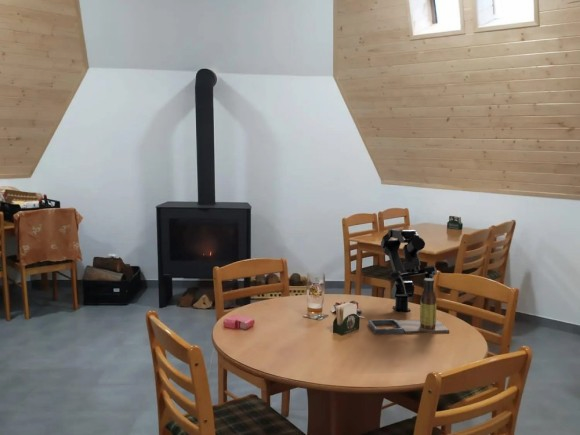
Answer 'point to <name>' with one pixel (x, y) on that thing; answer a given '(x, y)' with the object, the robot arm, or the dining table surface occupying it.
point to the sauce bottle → (428, 305)
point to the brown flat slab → (415, 327)
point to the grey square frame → (388, 330)
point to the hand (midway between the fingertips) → (416, 293)
